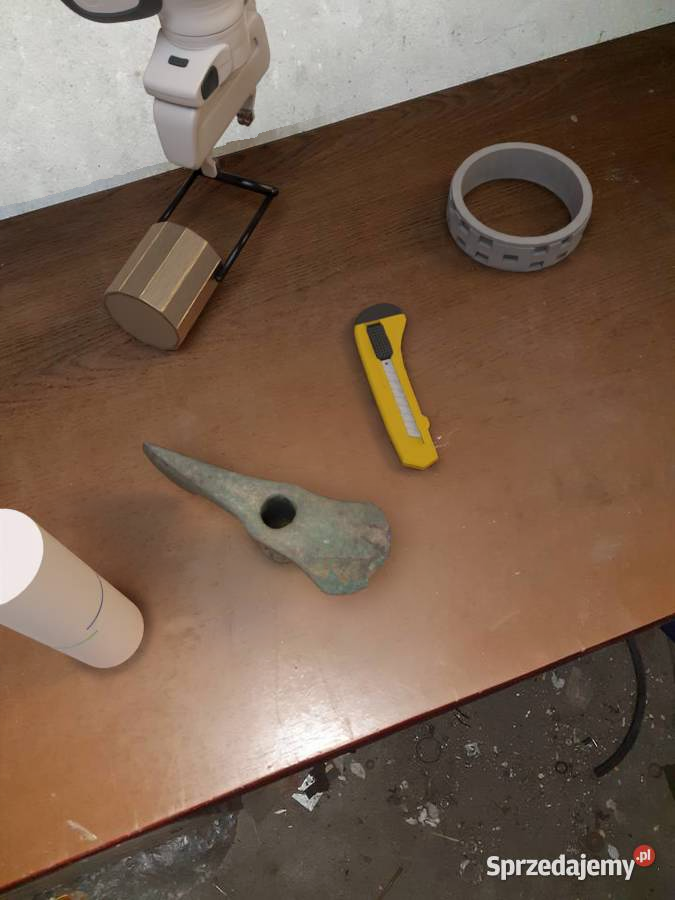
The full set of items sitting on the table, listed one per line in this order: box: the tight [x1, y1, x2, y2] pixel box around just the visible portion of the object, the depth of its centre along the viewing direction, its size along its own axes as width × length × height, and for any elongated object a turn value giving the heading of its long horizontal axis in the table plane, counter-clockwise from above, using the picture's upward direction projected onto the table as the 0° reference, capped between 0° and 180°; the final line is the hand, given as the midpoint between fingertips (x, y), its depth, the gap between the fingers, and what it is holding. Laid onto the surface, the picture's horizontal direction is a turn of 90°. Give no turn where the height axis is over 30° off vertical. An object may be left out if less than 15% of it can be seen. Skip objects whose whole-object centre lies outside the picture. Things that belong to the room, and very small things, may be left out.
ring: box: [445, 141, 594, 273], centre depth 90 cm, size 18×18×5 cm
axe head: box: [142, 442, 392, 596], centre depth 69 cm, size 27×10×10 cm, turn 63°
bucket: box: [101, 167, 280, 351], centre depth 85 cm, size 25×12×10 cm, turn 157°
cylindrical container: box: [0, 508, 145, 669], centre depth 59 cm, size 7×7×25 cm
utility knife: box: [354, 302, 439, 471], centre depth 81 cm, size 7×22×2 cm, turn 16°
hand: (229, 146), depth 85 cm, fingers open, 8 cm apart
